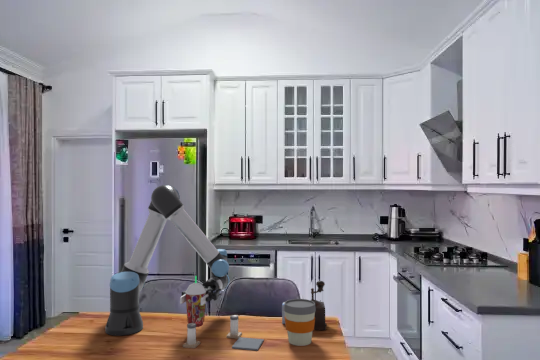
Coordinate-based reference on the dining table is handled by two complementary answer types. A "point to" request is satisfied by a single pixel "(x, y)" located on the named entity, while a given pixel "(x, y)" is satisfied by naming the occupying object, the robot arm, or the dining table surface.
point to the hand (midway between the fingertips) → (191, 301)
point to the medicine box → (283, 314)
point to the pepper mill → (319, 309)
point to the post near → (191, 336)
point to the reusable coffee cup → (299, 321)
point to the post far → (234, 327)
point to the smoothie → (195, 303)
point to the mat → (248, 343)
